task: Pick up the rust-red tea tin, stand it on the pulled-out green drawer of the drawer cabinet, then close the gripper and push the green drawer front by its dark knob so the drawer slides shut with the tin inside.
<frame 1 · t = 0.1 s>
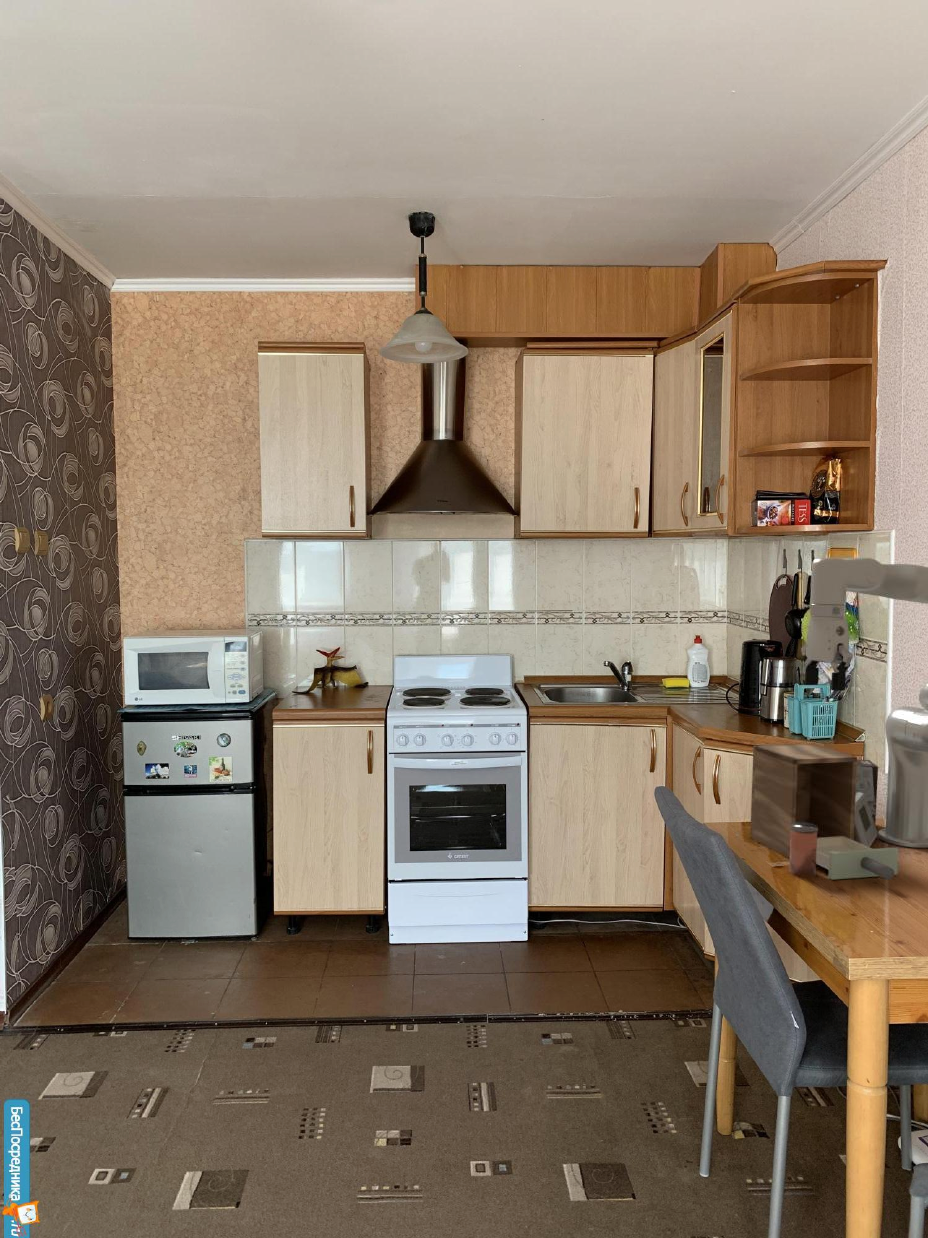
hand: (824, 687, 210), 37 cm above the table, tool pointing down, fingers open, 9 cm apart
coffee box: (858, 827, 230), on the table
digital clock: (860, 844, 214), on the table, touching drawer cabinet
green drawer: (851, 857, 195), point 3 cm above the table, slide at 13.0 cm
tea tin: (802, 873, 193), on the table
drawer cabinet: (800, 846, 212), on the table
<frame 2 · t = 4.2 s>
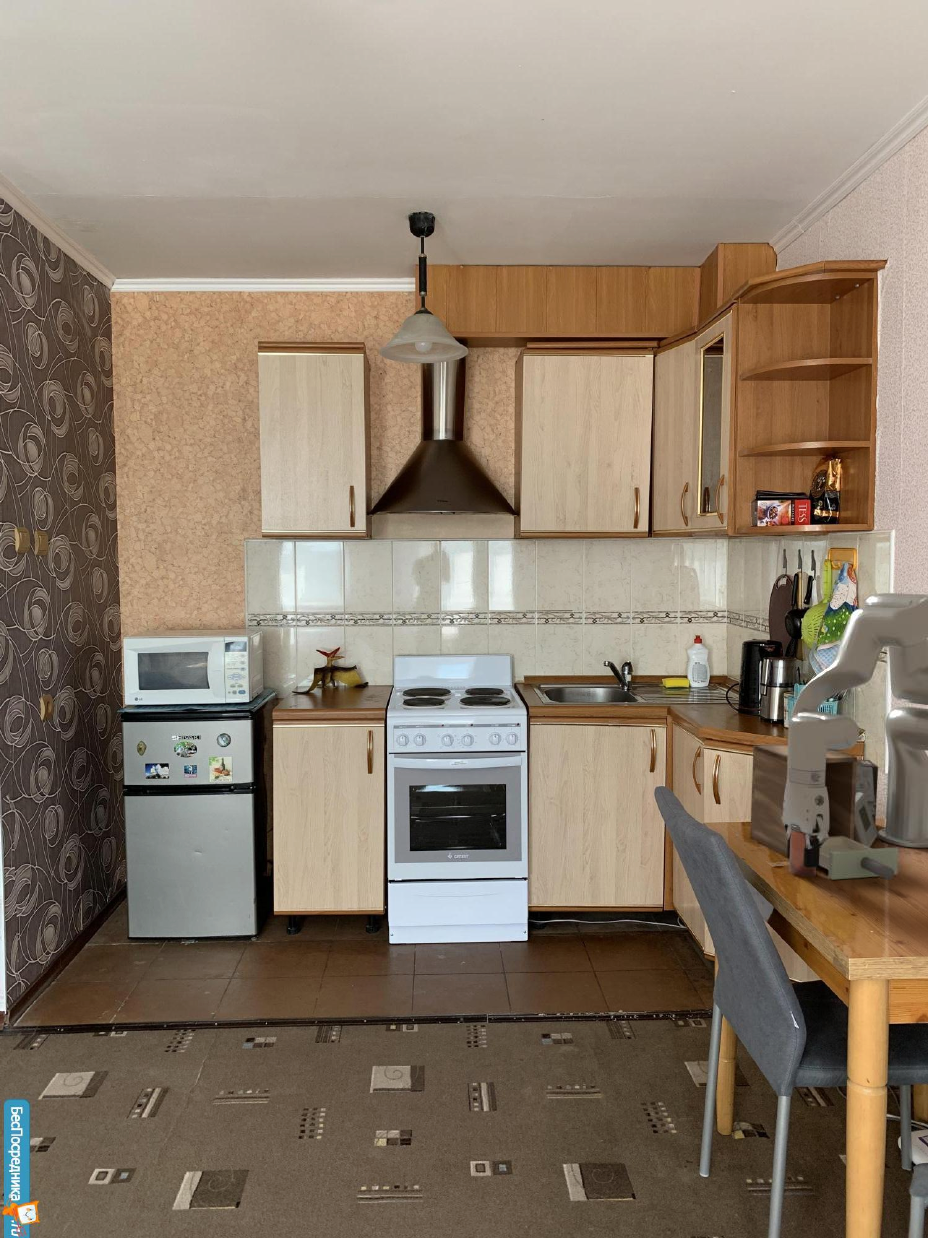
hand: (802, 861, 193), 2 cm above the table, tool pointing down, fingers closed on tea tin, 5 cm apart
tea tin: (802, 873, 193), on the table, touching gripper
everything else where it was.
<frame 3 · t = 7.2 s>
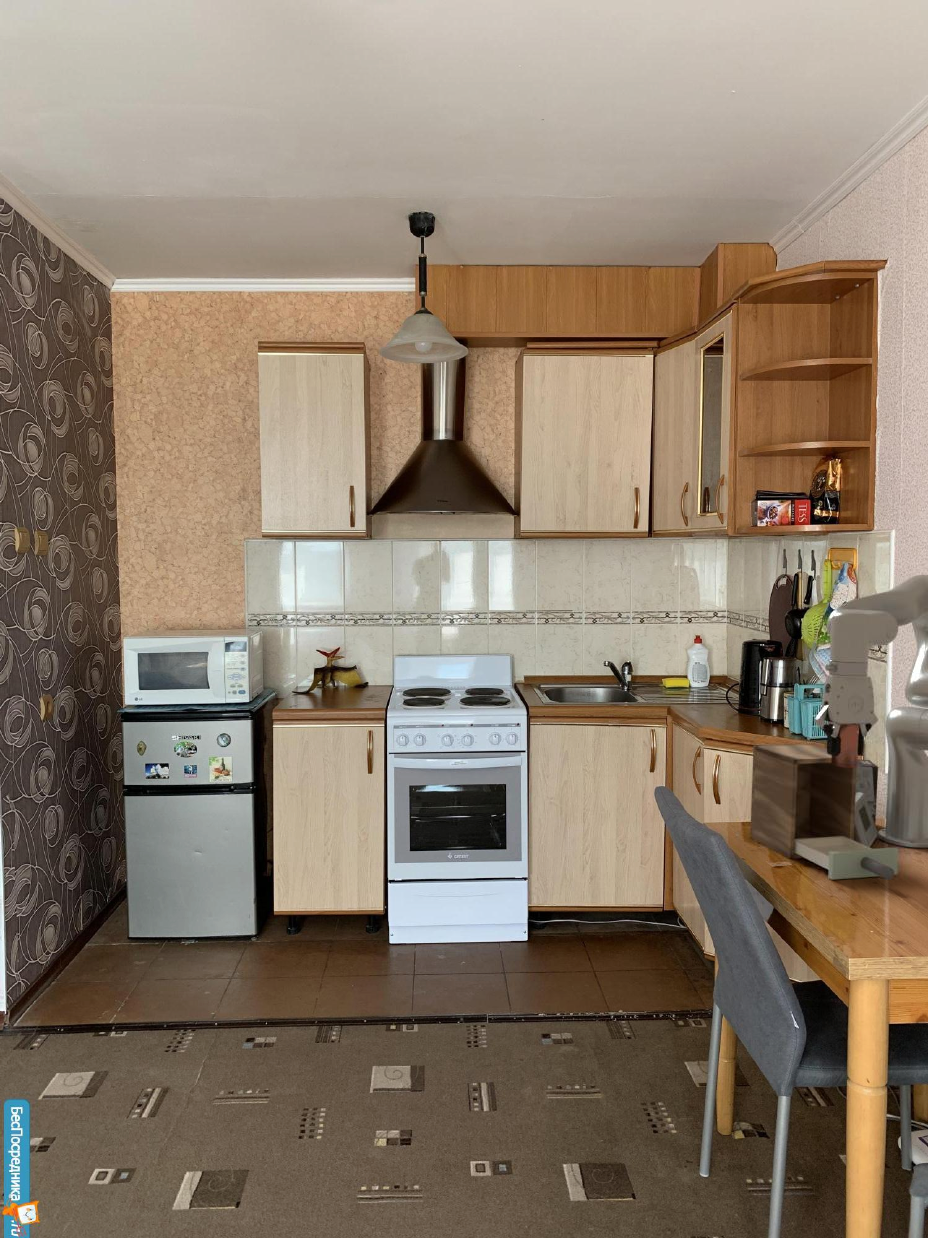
hand: (844, 753, 197), 24 cm above the table, tool pointing down, fingers closed on tea tin, 5 cm apart
tea tin: (844, 765, 197), point 22 cm above the table, touching gripper
everything else where it was.
when the fingers open (5 cm above the table, at t = 10.4 s): tea tin stays where it is, resting on green drawer.
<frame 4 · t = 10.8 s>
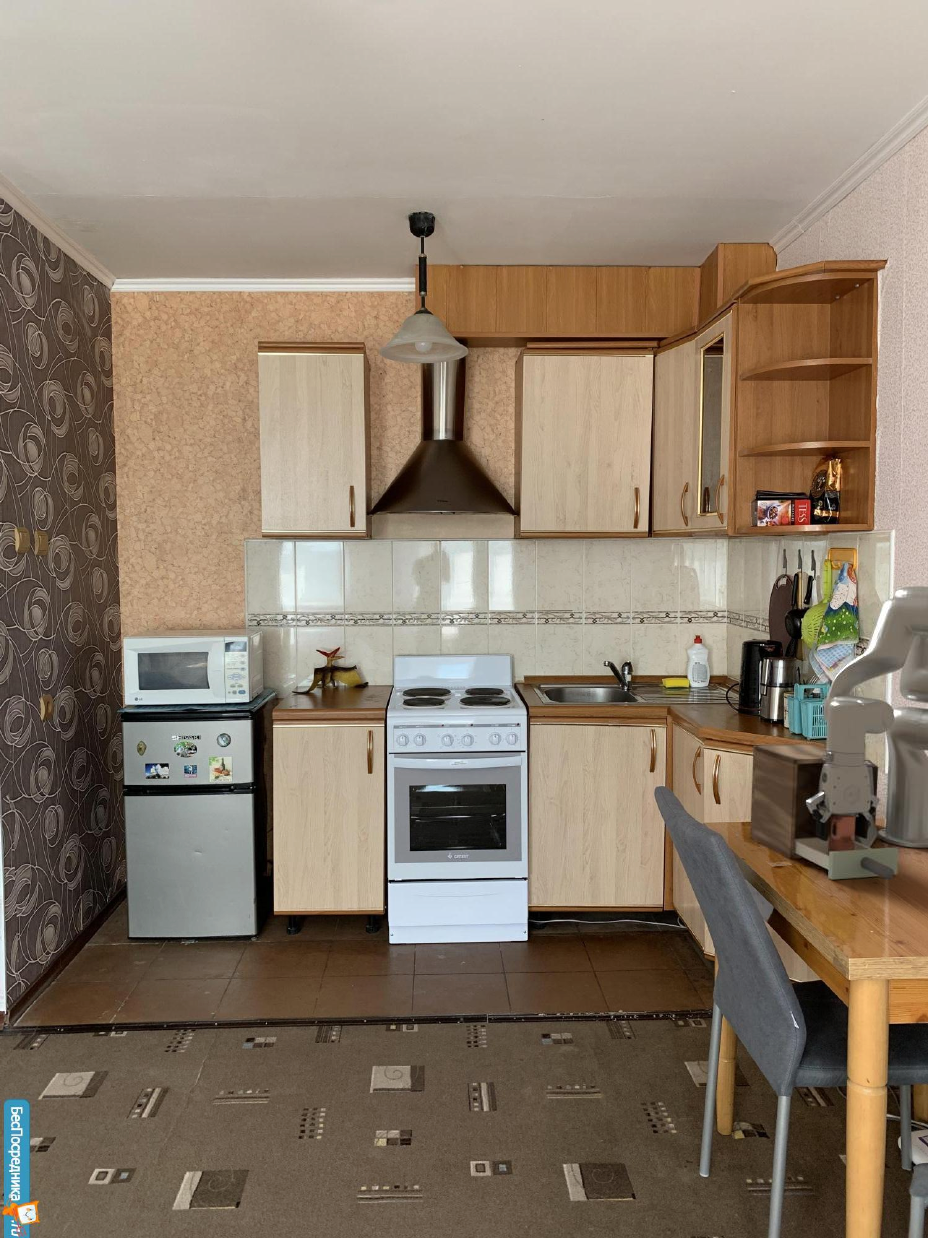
hand: (841, 838, 198), 6 cm above the table, tool pointing down, fingers open, 9 cm apart
green drawer: (851, 857, 195), point 3 cm above the table, slide at 13.0 cm, touching tea tin
tea tin: (840, 855, 198), point 2 cm above the table, touching green drawer
everything else where it was.
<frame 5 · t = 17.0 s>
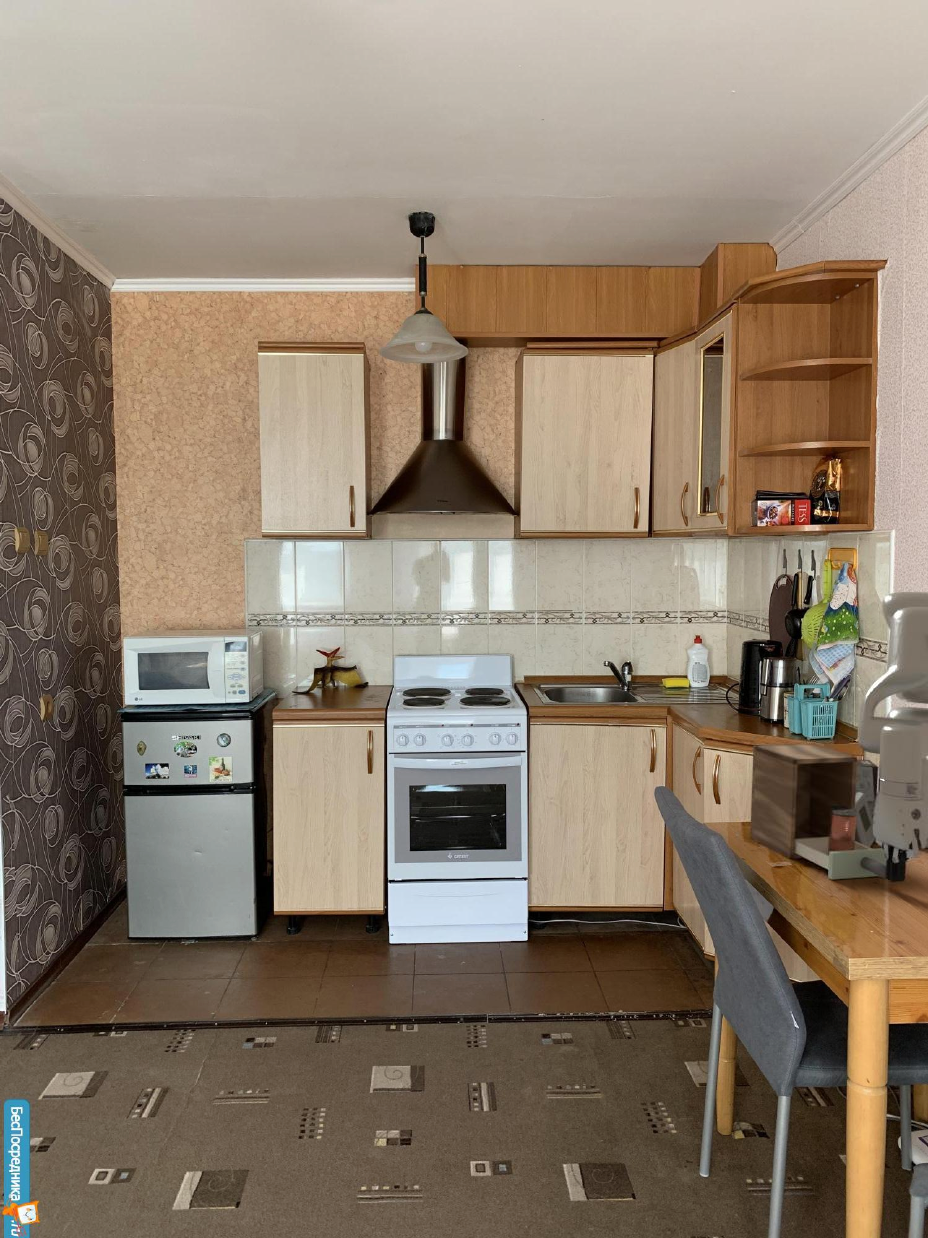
hand: (895, 880, 182), 3 cm above the table, tool pointing down, fingers closed
green drawer: (851, 857, 195), point 3 cm above the table, slide at 12.9 cm, touching gripper, tea tin
everything else where it was.
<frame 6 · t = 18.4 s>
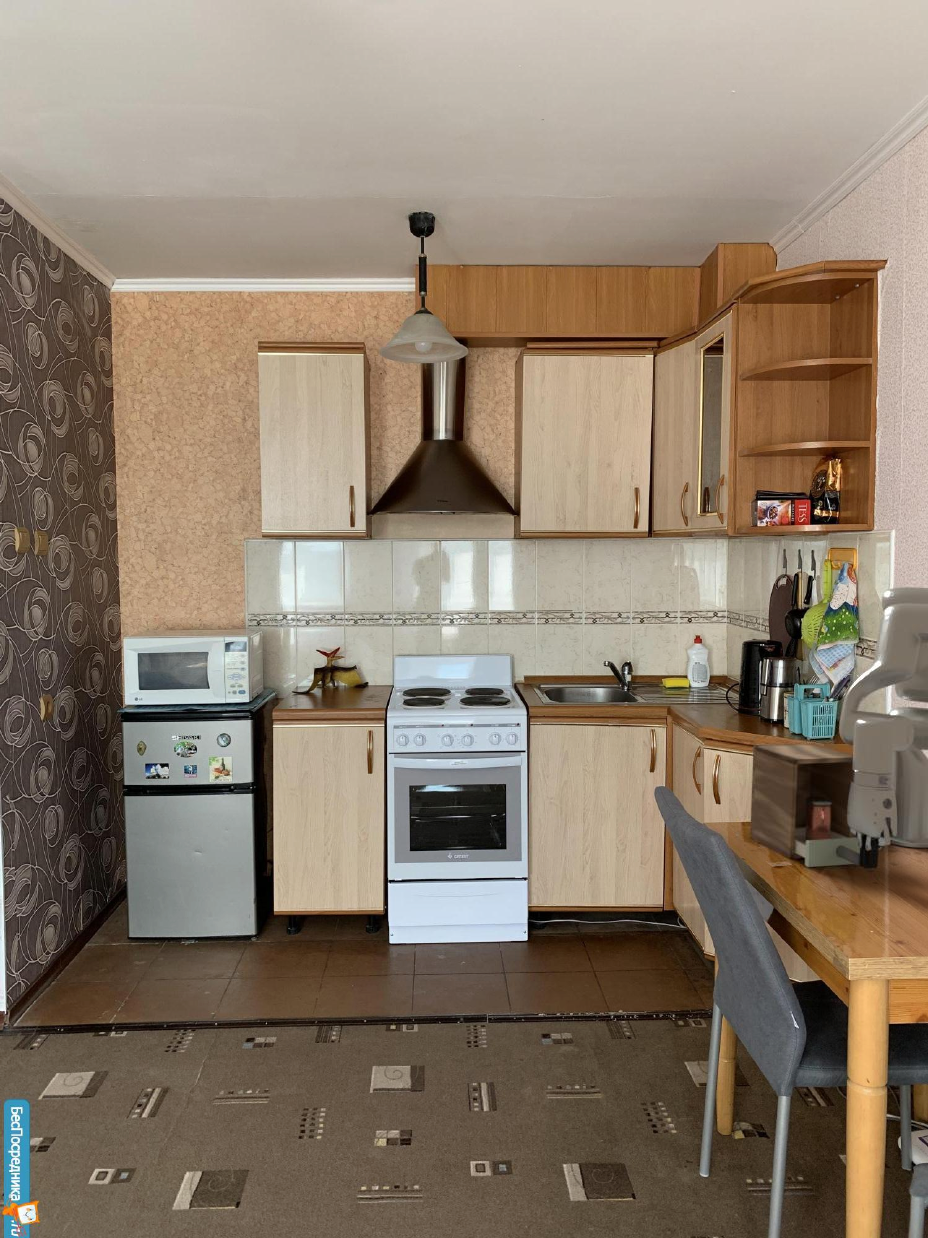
hand: (868, 867, 189), 3 cm above the table, tool pointing down, fingers closed
green drawer: (827, 846, 202), point 3 cm above the table, slide at 5.0 cm, touching gripper, tea tin
tea tin: (817, 844, 206), point 2 cm above the table, touching green drawer
everything else where it was.
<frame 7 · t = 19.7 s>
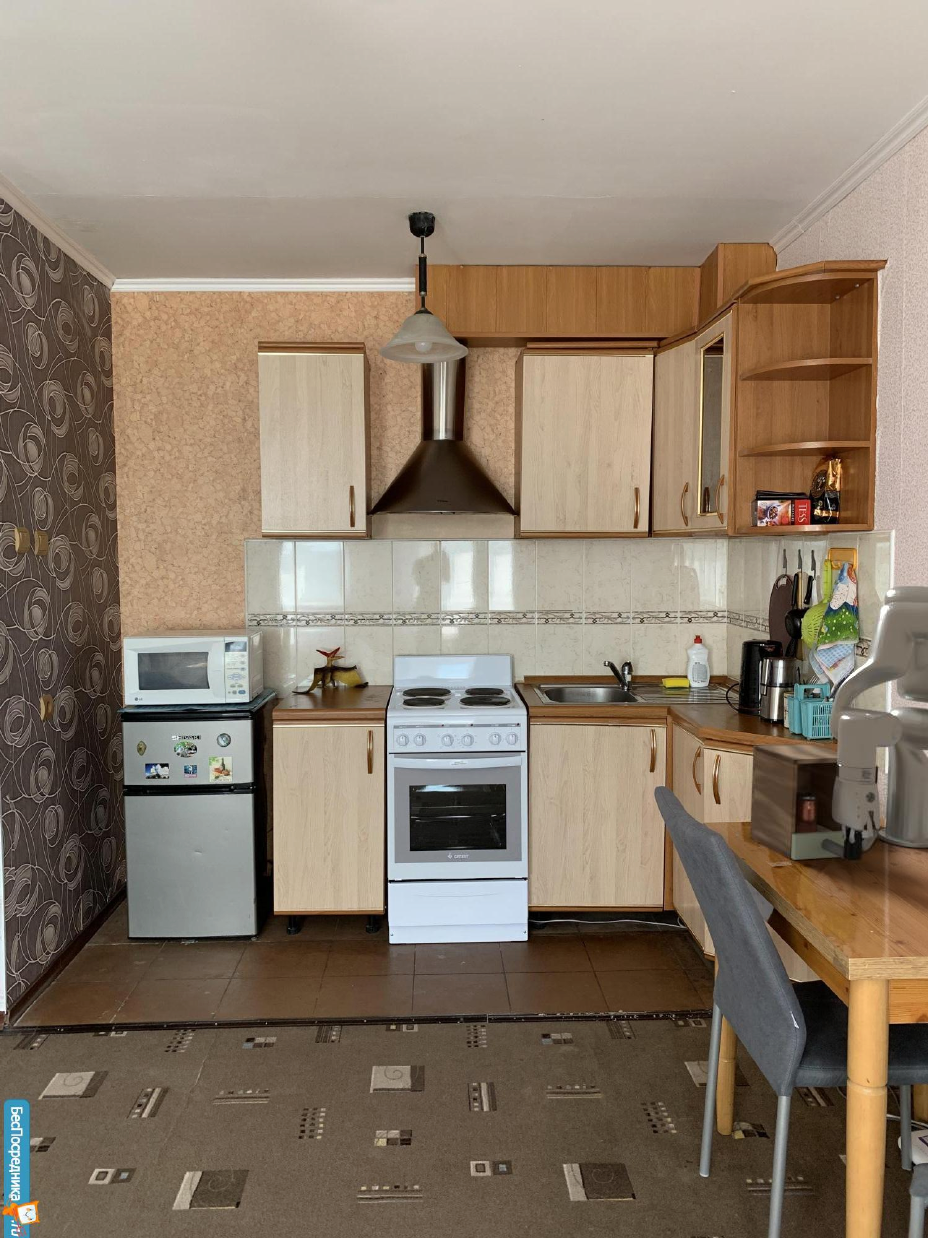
hand: (852, 859, 194), 3 cm above the table, tool pointing down, fingers closed
green drawer: (813, 839, 207), point 3 cm above the table, slide at -0.1 cm, touching gripper, tea tin
tea tin: (804, 838, 211), point 2 cm above the table, touching green drawer
everything else where it was.
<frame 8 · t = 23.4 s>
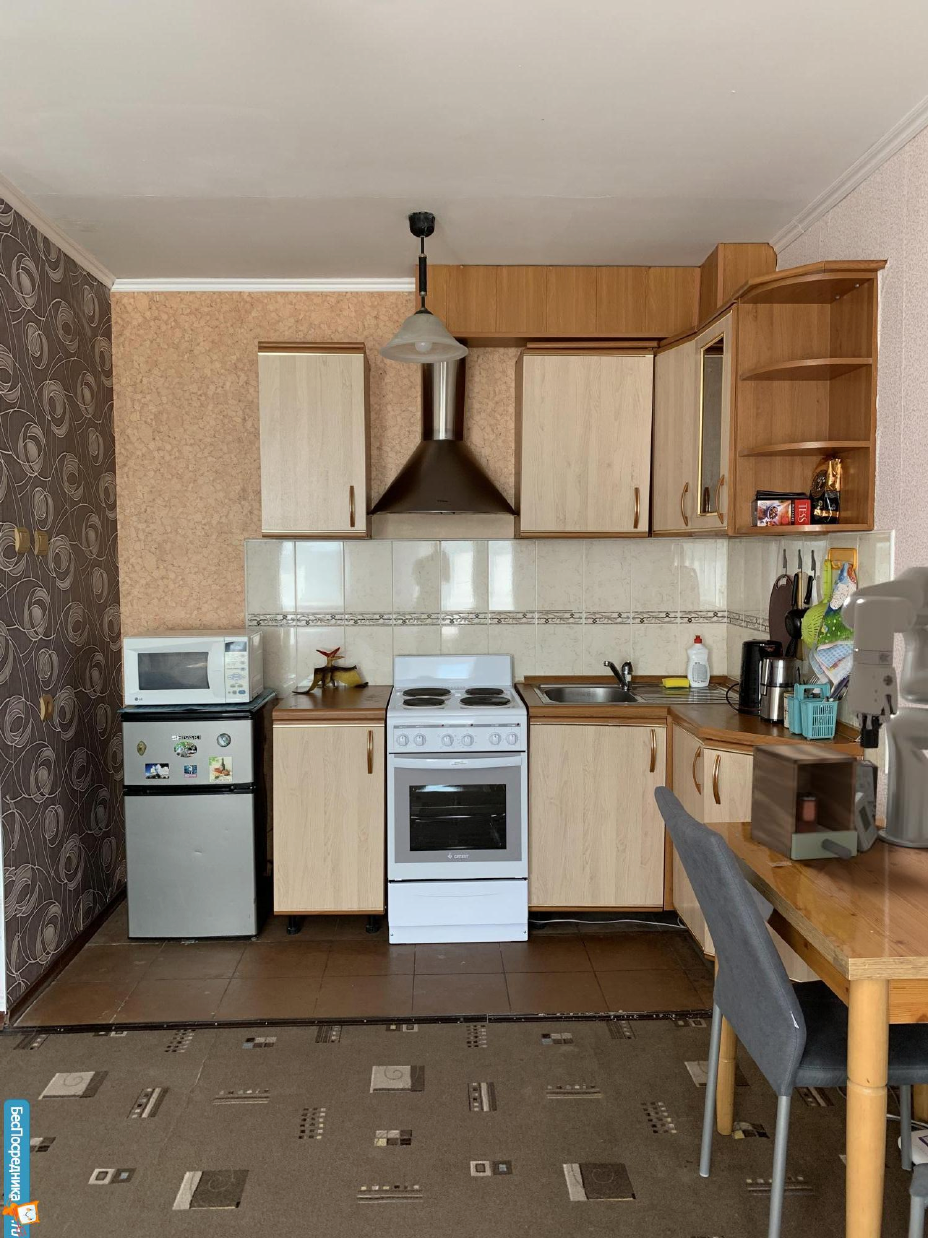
hand: (869, 747, 189), 27 cm above the table, tool pointing down, fingers closed
green drawer: (813, 839, 207), point 3 cm above the table, slide at 0.0 cm, touching tea tin
everything else where it was.
at the end: green drawer slide at 0.0 cm; tea tin inside the target area on the drawer cabinet (1.4 cm from its centre), point 2.2 cm above the drawer cabinet's base; tea tin tilted 1° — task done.
